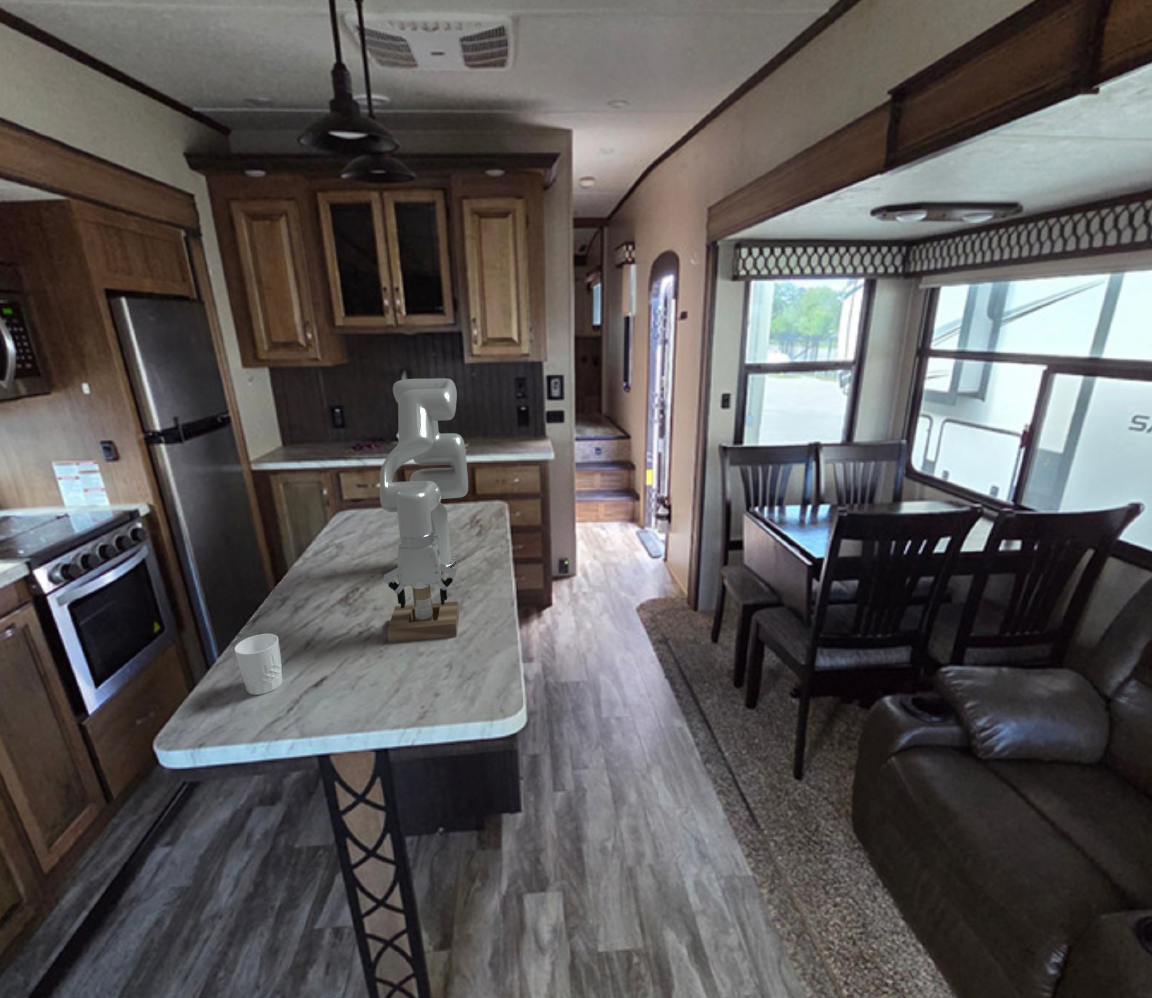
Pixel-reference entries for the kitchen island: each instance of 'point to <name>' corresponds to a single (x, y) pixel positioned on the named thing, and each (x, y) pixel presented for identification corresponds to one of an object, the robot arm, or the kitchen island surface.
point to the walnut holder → (424, 623)
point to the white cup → (260, 663)
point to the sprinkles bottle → (422, 602)
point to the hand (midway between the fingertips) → (423, 604)
